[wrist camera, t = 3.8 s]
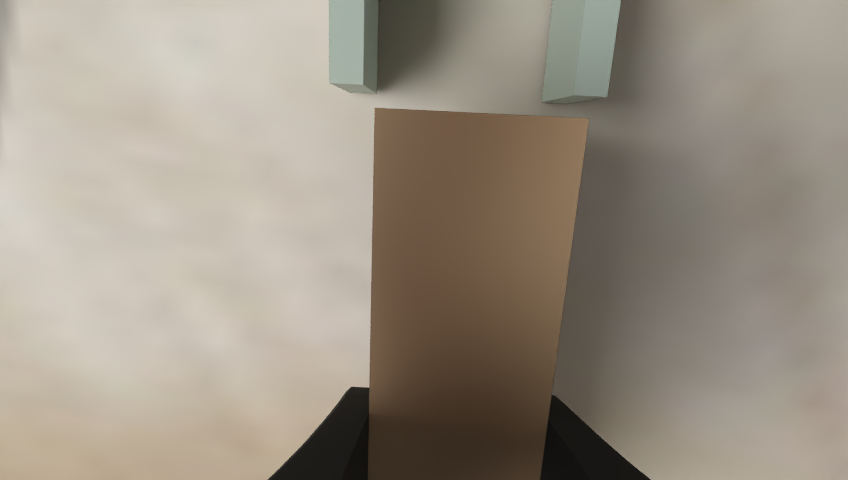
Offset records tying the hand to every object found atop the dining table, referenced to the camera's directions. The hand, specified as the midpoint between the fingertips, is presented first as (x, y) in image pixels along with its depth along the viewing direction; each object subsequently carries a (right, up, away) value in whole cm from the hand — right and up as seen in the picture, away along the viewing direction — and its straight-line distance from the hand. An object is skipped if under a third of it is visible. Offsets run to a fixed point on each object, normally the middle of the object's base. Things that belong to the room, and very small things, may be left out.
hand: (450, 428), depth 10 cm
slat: (0, +1, +2) cm, 3 cm away
